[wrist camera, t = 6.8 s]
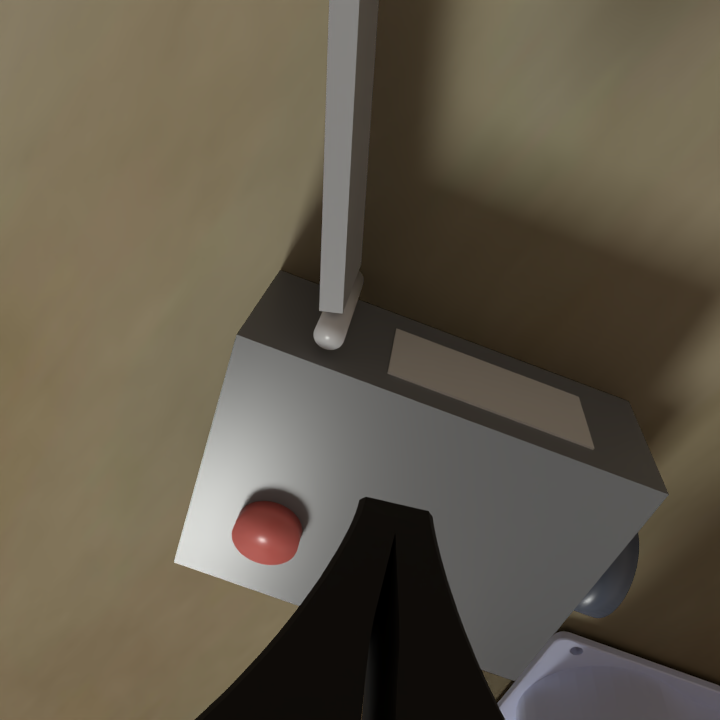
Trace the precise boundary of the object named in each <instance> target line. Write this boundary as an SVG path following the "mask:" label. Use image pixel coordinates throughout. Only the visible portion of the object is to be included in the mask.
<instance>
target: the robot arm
mask: <svg viewBox="0 0 720 720" xmlns="http://www.w3.org/2000/svg"><path fill="white" fill-rule="evenodd" d="M363 695H364V700H363ZM362 705H363V715H362V720H720V686H719V685H716V684H714V683H711V682H708V681H705V680H702V679H699V678H697V677H694V676H691V675H688V674H685V673H683V672H680V671H677V670H674V669H671V668H668V667H666V666H663V665H660V664H657V663H654V662H652V661H649V660H646V659H643V658H640V657H638V656H635V655H632V654H629V653H626V652H623V651H621V650H618V649H615V648H612V647H609V646H607V645H604V644H601V643H598V642H595V641H592V640H590V639H587V638H584V637H581V636H578V635H576V634H573V633H570V632H566V631H561V632H558V633H555V634H554V635H553V636H552V637H551V638H550V640H549V641H548V642H547V643H546V644H545V646H544V647H543V648H542V649H541V651H540V652H539V653H538V654H537V655H536V657H535V658H534V659H533V660H532V661H531V663H530V664H529V665H528V666H527V668H526V669H525V670H524V671H523V672H522V674H521V675H520V676H519V677H518V679H517V680H516V681H515V682H514V683H513V685H512V686H511V687H510V688H509V689H508V691H507V692H506V693H505V694H504V696H503V697H502V698H501V699H500V700H499V702H498V703H497V702H496V700H495V698H494V696H493V694H492V692H491V690H490V688H489V686H488V684H487V682H486V679H485V677H484V675H483V673H482V670H481V668H480V666H479V664H478V661H477V659H476V657H475V654H474V652H473V649H472V647H471V644H470V642H469V639H468V637H467V634H466V632H465V629H464V626H463V624H462V621H461V618H460V616H459V613H458V610H457V607H456V604H455V601H454V598H453V595H452V592H451V589H450V586H449V583H448V580H447V576H446V573H445V570H444V566H443V562H442V559H441V555H440V551H439V547H438V543H437V538H436V533H435V528H434V523H433V517H432V515H431V514H430V512H429V511H426V510H422V509H418V508H413V507H409V506H405V505H400V504H396V503H392V502H387V501H383V500H379V499H374V498H370V497H364V498H362V499H360V500H359V503H358V507H357V510H356V513H355V515H354V518H353V520H352V522H351V525H350V527H349V529H348V531H347V533H346V535H345V537H344V538H343V540H342V542H341V544H340V546H339V548H338V549H337V551H336V553H335V554H334V556H333V557H332V559H331V561H330V562H329V564H328V566H327V567H326V569H325V570H324V572H323V574H322V575H321V577H320V578H319V580H318V581H317V582H316V584H315V585H314V587H313V588H312V589H311V591H310V592H309V594H308V595H307V596H306V598H305V599H304V601H303V602H302V603H301V605H300V606H299V607H298V609H297V610H296V611H295V613H294V614H293V615H292V617H291V618H290V619H289V620H288V622H287V623H286V624H285V625H284V627H283V628H282V629H281V630H280V632H279V633H278V634H277V635H276V636H275V637H274V639H273V640H272V641H271V642H270V643H269V645H268V646H267V647H266V648H265V649H264V650H263V651H262V653H261V654H260V655H259V656H258V657H257V658H256V659H255V660H254V661H253V662H252V663H251V664H250V666H249V667H248V668H247V669H246V670H245V671H244V672H243V673H242V674H241V675H240V676H239V677H238V678H237V680H236V681H235V682H234V683H233V684H232V685H231V686H230V687H229V688H228V689H227V690H226V691H225V692H224V693H223V694H222V695H221V696H220V697H219V698H218V699H216V700H215V701H214V702H213V703H212V704H211V705H210V706H209V707H208V708H207V709H206V710H205V711H204V712H203V713H201V714H200V715H199V716H198V717H197V718H196V719H195V720H361V714H362Z"/></svg>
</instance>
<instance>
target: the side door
mask: <svg viewBox="0 0 720 720" xmlns="http://www.w3.org/2000/svg"><path fill="white" fill-rule="evenodd" d="M378 6H379V0H329V27H328V57H327V88H326V118H325V149H324V179H323V210H322V240H321V271H320V301H319V311H323V312H322V314H321V316H320V319H319V321H318V323H317V325H316V328H315V330H314V340H315V342H316V343H317V344H318V345H319V346H320V347H322V348H324V349H326V350H334V349H337V348H339V347H340V346H341V345H342V344H343V342H344V339H345V336H346V333H347V331H348V328H349V325H350V322H351V319H352V316H353V313H354V310H355V307H356V304H357V301H358V298H359V295H360V292H361V289H362V287H363V283H364V277H363V275H362V273H361V272H360V271H359V269H360V266H361V260H362V245H363V230H364V215H365V200H366V185H367V170H368V155H369V140H370V125H371V110H372V95H373V80H374V66H375V51H376V36H377V21H378Z"/></svg>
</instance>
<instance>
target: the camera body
mask: <svg viewBox="0 0 720 720" xmlns="http://www.w3.org/2000/svg"><path fill="white" fill-rule="evenodd" d="M319 301H320V285H318V284H316V283H313V282H310V281H308V280H305V279H302V278H300V277H297V276H294V275H292V274H289V273H286V272H284V271H281V270H280V271H279V273H278V274H277V275H276V277H275V278H274V280H273V281H272V283H271V284H270V286H269V287H268V289H267V290H266V292H265V293H264V295H263V296H262V298H261V299H260V301H259V302H258V304H257V305H256V307H255V308H254V310H253V311H252V313H251V314H250V316H249V317H248V319H247V320H246V322H245V323H244V325H243V326H242V327H241V329H240V330H239V332H238V333H237V335H236V339H235V343H234V346H233V350H232V353H231V357H230V361H229V364H228V368H227V372H226V375H225V379H224V382H223V386H222V390H221V393H220V397H219V401H218V404H217V408H216V412H215V415H214V419H213V422H212V426H211V430H210V433H209V437H208V441H207V444H206V448H205V451H204V455H203V459H202V462H201V466H200V470H199V473H198V477H197V480H196V484H195V488H194V491H193V495H192V499H191V502H190V506H189V509H188V513H187V517H186V520H185V524H184V528H183V531H182V535H181V539H180V542H179V546H178V549H177V553H176V557H175V560H174V562H175V563H178V564H180V565H183V566H186V567H189V568H192V569H195V570H198V571H200V572H203V573H206V574H209V575H212V576H215V577H218V578H221V579H223V580H226V581H229V582H232V583H235V584H238V585H241V586H243V587H246V588H249V589H252V590H255V591H258V592H261V593H263V594H266V595H269V596H272V597H275V598H278V599H281V600H284V601H286V602H289V603H292V604H295V605H298V606H300V605H301V603H302V602H303V601H304V599H305V598H306V596H307V595H308V594H309V592H310V591H311V589H312V588H313V587H314V585H315V584H316V582H317V581H318V580H319V578H320V577H321V575H322V574H323V572H324V570H325V569H326V567H327V566H328V564H329V562H330V561H331V559H332V557H333V556H334V554H335V553H336V551H337V549H338V548H339V546H340V544H341V542H342V540H343V538H344V537H345V535H346V533H347V531H348V529H349V527H350V525H351V522H352V520H353V518H354V515H355V513H356V510H357V507H358V503H359V500H360V499H362V498H364V497H370V498H374V499H379V500H383V501H387V502H392V503H396V504H400V505H405V506H409V507H413V508H418V509H422V510H426V511H429V512H430V514H431V515H432V517H433V523H434V528H435V533H436V538H437V543H438V547H439V551H440V555H441V559H442V562H443V566H444V570H445V573H446V576H447V580H448V583H449V586H450V589H451V592H452V595H453V598H454V601H455V604H456V607H457V610H458V613H459V616H460V618H461V621H462V624H463V626H464V629H465V632H466V634H467V637H468V639H469V642H470V644H471V647H472V649H473V652H474V654H475V657H476V659H477V661H478V664H479V666H480V668H481V670H484V671H487V672H490V673H493V674H495V675H498V676H501V677H504V678H507V679H510V680H513V681H516V680H517V679H518V677H519V676H520V675H521V674H522V672H523V671H524V670H525V669H526V668H527V666H528V665H529V664H530V663H531V661H532V660H533V659H534V658H535V657H536V655H537V654H538V653H539V652H540V651H541V649H542V648H543V647H544V646H545V644H546V643H547V642H548V641H549V640H550V638H551V637H552V636H553V635H554V633H555V632H556V631H557V630H558V629H559V627H560V626H561V625H562V624H563V623H564V621H565V620H566V619H567V618H568V616H569V615H570V614H571V613H572V612H573V610H574V611H577V612H580V613H583V614H585V615H588V616H591V617H594V618H603V617H606V616H607V615H609V614H611V613H612V612H613V611H614V610H615V609H616V608H617V607H618V606H619V605H620V604H621V602H622V601H623V599H624V598H625V596H626V594H627V593H628V591H629V589H630V586H631V584H632V581H633V578H634V575H635V572H636V568H637V562H638V555H639V536H638V531H639V530H640V529H641V528H642V526H643V525H644V524H645V523H646V522H647V520H648V519H649V518H650V517H651V515H652V514H653V513H654V512H655V511H656V509H657V508H658V507H659V506H660V505H661V503H662V502H663V501H664V500H665V498H666V497H667V496H668V495H669V494H668V492H667V489H666V487H665V485H664V482H663V480H662V478H661V475H660V473H659V471H658V468H657V466H656V464H655V461H654V459H653V457H652V454H651V452H650V450H649V448H648V445H647V443H646V441H645V438H644V436H643V434H642V431H641V429H640V427H639V424H638V422H637V420H636V417H635V415H634V413H633V410H632V408H631V406H630V403H629V401H626V400H623V399H621V398H618V397H615V396H613V395H610V394H607V393H605V392H602V391H599V390H597V389H594V388H592V387H589V386H586V385H584V384H581V383H578V382H576V381H573V380H570V379H568V378H565V377H562V376H560V375H557V374H554V373H552V372H549V371H546V370H544V369H541V368H538V367H536V366H533V365H530V364H528V363H525V362H523V361H520V360H517V359H515V358H512V357H509V356H507V355H504V354H501V353H499V352H496V351H493V350H491V349H488V348H485V347H483V346H480V345H477V344H475V343H472V342H469V341H467V340H464V339H461V338H459V337H456V336H454V335H451V334H448V333H446V332H443V331H440V330H438V329H435V328H432V327H430V326H427V325H424V324H422V323H419V322H416V321H414V320H411V319H408V318H406V317H403V316H400V315H398V314H395V313H392V312H390V311H387V310H385V309H382V308H379V307H377V306H374V305H371V304H369V303H366V302H363V301H361V300H358V301H357V304H356V307H355V310H354V313H353V316H352V319H351V322H350V325H349V328H348V331H347V333H346V336H345V339H344V342H343V344H342V345H341V346H340V347H339V348H337V349H334V350H326V349H324V348H322V347H320V346H319V345H318V344H317V343H316V342H315V340H314V330H315V328H316V325H317V323H318V321H319V319H320V316H321V314H322V312H323V311H319Z"/></svg>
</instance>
